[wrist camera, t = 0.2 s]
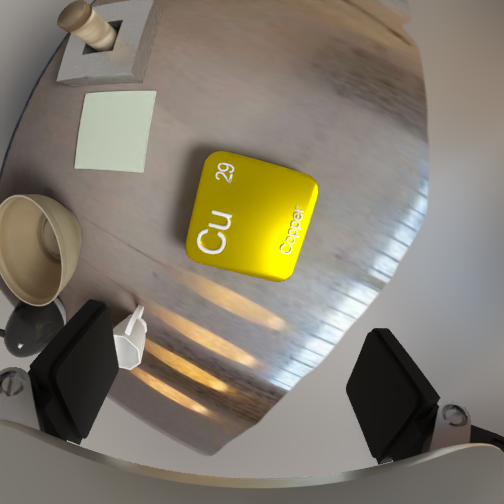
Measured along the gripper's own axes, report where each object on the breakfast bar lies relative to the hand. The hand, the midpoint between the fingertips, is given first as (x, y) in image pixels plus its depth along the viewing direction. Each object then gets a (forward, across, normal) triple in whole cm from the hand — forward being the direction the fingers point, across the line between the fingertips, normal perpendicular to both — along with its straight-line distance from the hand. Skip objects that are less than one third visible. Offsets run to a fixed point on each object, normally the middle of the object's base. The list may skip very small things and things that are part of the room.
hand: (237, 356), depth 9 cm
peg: (+31, +23, -24) cm, 46 cm away
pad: (+31, +20, -10) cm, 38 cm away
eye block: (+31, +23, -24) cm, 46 cm away
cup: (+31, +15, +20) cm, 40 cm away
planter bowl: (+31, +30, +6) cm, 44 cm away
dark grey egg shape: (+31, +34, +21) cm, 51 cm away
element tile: (+32, -1, 0) cm, 32 cm away
